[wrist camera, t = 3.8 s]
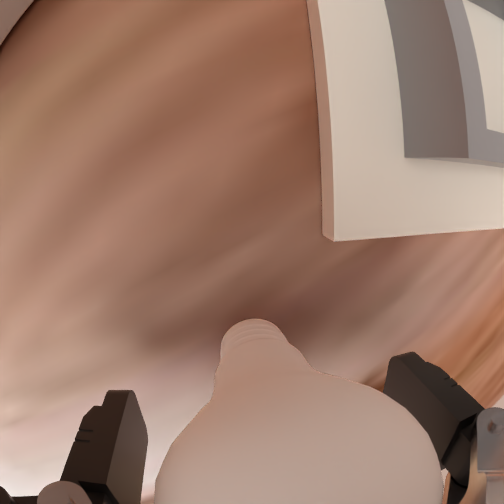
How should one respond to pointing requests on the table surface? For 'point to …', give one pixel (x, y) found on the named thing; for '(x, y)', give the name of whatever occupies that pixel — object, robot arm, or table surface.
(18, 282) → the table surface
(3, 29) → the stereo radio cassette player
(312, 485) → the lightbulb
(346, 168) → the socket base
